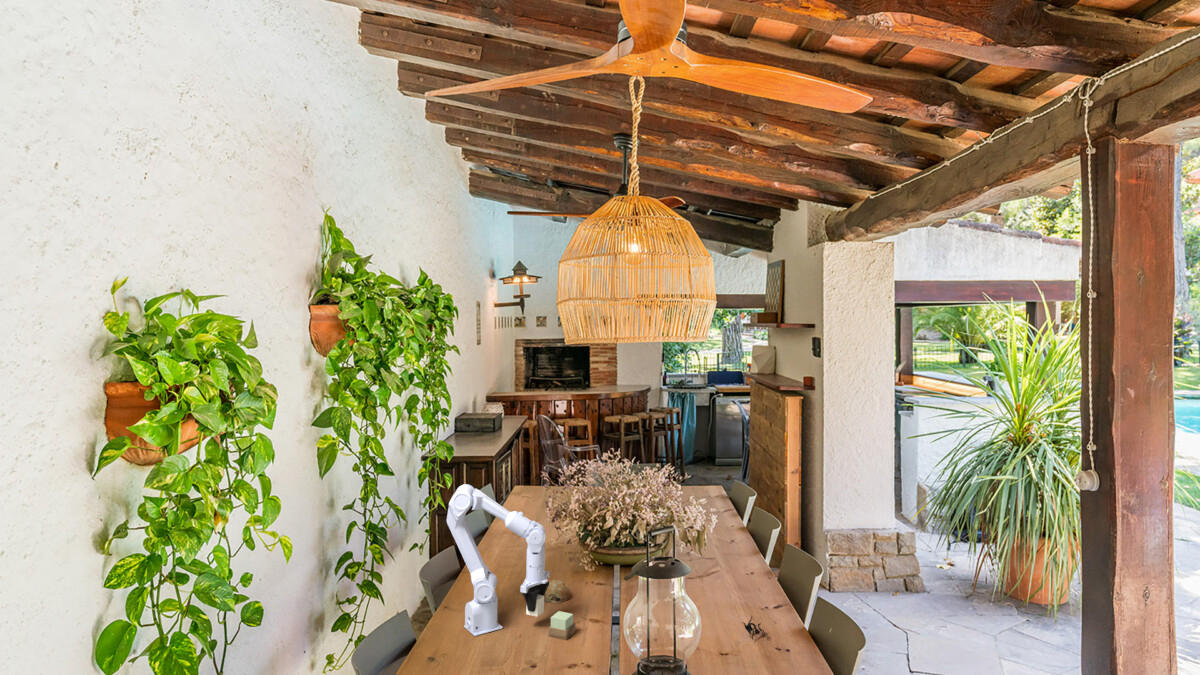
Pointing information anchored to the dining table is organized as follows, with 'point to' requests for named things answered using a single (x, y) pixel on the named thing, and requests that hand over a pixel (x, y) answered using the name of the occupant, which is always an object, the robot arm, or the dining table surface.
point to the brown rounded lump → (557, 591)
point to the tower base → (561, 632)
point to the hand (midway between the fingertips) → (535, 608)
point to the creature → (753, 628)
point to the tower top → (562, 620)
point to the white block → (537, 607)
